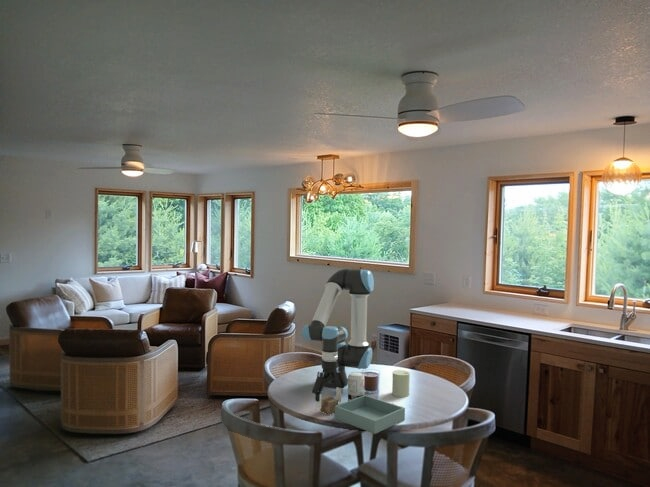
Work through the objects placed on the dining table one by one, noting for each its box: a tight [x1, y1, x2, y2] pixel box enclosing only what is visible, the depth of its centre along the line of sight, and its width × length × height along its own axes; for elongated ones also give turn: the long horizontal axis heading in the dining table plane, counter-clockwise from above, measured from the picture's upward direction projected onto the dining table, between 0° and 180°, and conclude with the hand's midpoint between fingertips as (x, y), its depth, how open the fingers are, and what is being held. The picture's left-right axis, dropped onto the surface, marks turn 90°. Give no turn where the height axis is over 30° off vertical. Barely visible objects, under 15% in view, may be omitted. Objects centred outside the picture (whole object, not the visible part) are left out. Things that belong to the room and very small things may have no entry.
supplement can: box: [347, 371, 365, 401], centre depth 237 cm, size 8×8×15 cm
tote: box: [334, 394, 406, 435], centre depth 219 cm, size 24×22×6 cm
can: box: [391, 369, 411, 398], centre depth 252 cm, size 9×9×12 cm
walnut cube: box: [319, 396, 339, 416], centre depth 227 cm, size 6×6×6 cm
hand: (328, 404), depth 227 cm, fingers open, 13 cm apart
